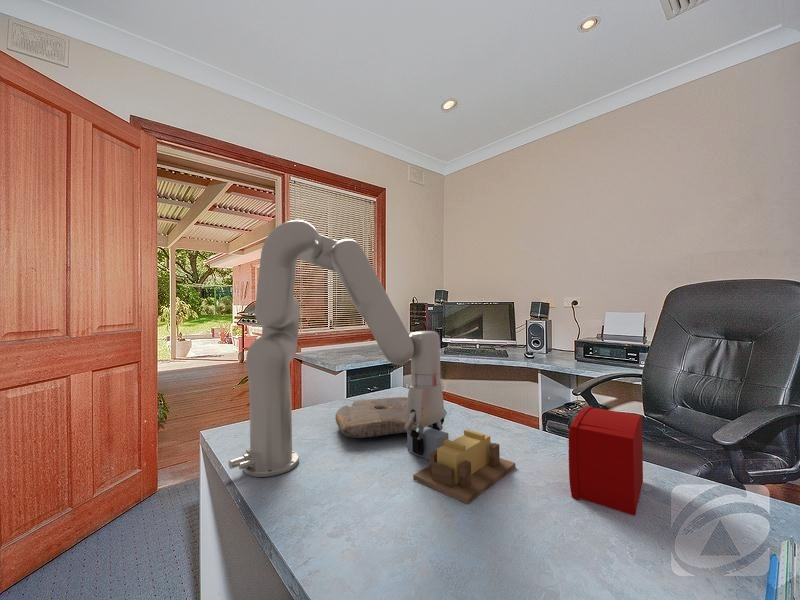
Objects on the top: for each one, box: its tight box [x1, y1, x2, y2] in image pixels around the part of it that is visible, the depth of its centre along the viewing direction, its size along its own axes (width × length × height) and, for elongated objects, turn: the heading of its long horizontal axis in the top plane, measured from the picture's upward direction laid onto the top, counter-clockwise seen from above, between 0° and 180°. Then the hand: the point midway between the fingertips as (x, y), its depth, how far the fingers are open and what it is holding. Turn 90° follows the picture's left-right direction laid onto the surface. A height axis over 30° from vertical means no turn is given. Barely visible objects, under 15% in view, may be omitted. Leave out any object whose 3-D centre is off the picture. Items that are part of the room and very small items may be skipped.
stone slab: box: [335, 396, 432, 439], centre depth 111 cm, size 31×29×6 cm
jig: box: [412, 442, 516, 505], centre depth 78 cm, size 20×14×6 cm
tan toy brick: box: [437, 429, 491, 485], centre depth 79 cm, size 14×5×7 cm, turn 136°
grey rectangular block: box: [406, 424, 449, 461], centre depth 89 cm, size 4×10×6 cm, turn 46°
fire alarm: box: [568, 405, 644, 517], centre depth 71 cm, size 16×11×15 cm
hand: (427, 448), depth 89 cm, fingers open, 6 cm apart
